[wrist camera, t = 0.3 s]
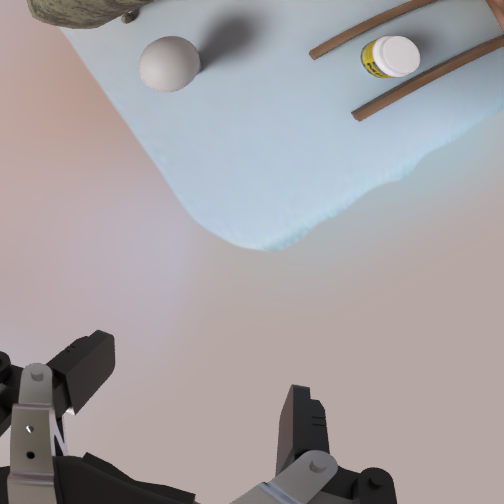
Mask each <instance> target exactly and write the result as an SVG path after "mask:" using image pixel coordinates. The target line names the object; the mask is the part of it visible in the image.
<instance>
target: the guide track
mask: <svg viewBox="0 0 504 504" xmlns="http://www.w3.org/2000/svg"><path fill="white" fill-rule="evenodd" d="M434 1H437V0H412V1H409V2H407V3H404V4H402V5H400V6H397V7H395V8H393V9H390V10H388V11H386V12H384V13H381V14H379V15H377V16H375V17H373V18H371V19H369V20H367V21H364V22H362V23H360V24H358V25H356V26H354V27H353V28H351V29H349V30H347V31H345V32H343V33H341V34H339V35H337V36H336V37H334V38H332V39H330V40H328V41H327V42H325V43H323V44H321V45H320V46H318V47H316V48H314V49H313V50H311V51H310V52H309V55H310V56H311V57H312V59H313V60H315V59H317V58H318V57H320V56H322V55H324V54H325V53H327V52H329V51H330V50H332V49H334V48H336V47H338V46H339V45H341V44H343V43H345V42H347V41H349V40H350V39H352V38H354V37H356V36H358V35H360V34H362V33H364V32H366V31H368V30H370V29H372V28H374V27H376V26H378V25H380V24H382V23H384V22H386V21H389V20H391V19H393V18H395V17H397V16H400V15H402V14H404V13H407V12H409V11H411V10H414V9H416V8H419V7H421V6H424V5H426V4H429V3H431V2H434ZM486 2H487V3H488V5H489V6H490V8H491V10H492V11H493V13H494V15H495V17H496V18H497V20H498V22H499V24H500V26H501V28H502V29H503V31H504V0H486ZM503 46H504V35H502V36H499V37H497V38H494V39H492V40H490V41H488V42H485V43H483V44H481V45H479V46H476V47H474V48H472V49H470V50H468V51H466V52H463V53H461V54H459V55H457V56H455V57H453V58H451V59H449V60H447V61H445V62H443V63H441V64H439V65H437V66H435V67H433V68H431V69H429V70H427V71H425V72H423V73H421V74H419V75H417V76H415V77H414V78H412V79H410V80H408V81H406V82H404V83H402V84H400V85H399V86H397V87H395V88H393V89H391V90H390V91H388V92H386V93H384V94H382V95H381V96H379V97H377V98H375V99H374V100H372V101H370V102H368V103H367V104H365V105H363V106H361V107H360V108H358V109H356V110H355V111H353V112H351V113H352V115H353V116H354V118H355V119H356V120H358V121H359V122H360V121H362V120H363V119H365V118H367V117H369V116H370V115H372V114H374V113H375V112H377V111H379V110H381V109H382V108H384V107H386V106H388V105H389V104H391V103H393V102H395V101H397V100H398V99H400V98H402V97H404V96H406V95H407V94H409V93H411V92H413V91H415V90H416V89H418V88H420V87H422V86H424V85H426V84H428V83H430V82H431V81H433V80H435V79H437V78H439V77H441V76H443V75H445V74H447V73H449V72H451V71H453V70H455V69H457V68H459V67H461V66H463V65H465V64H467V63H469V62H471V61H473V60H475V59H477V58H479V57H481V56H483V55H485V54H487V53H490V52H492V51H494V50H496V49H498V48H500V47H503Z"/></svg>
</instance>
